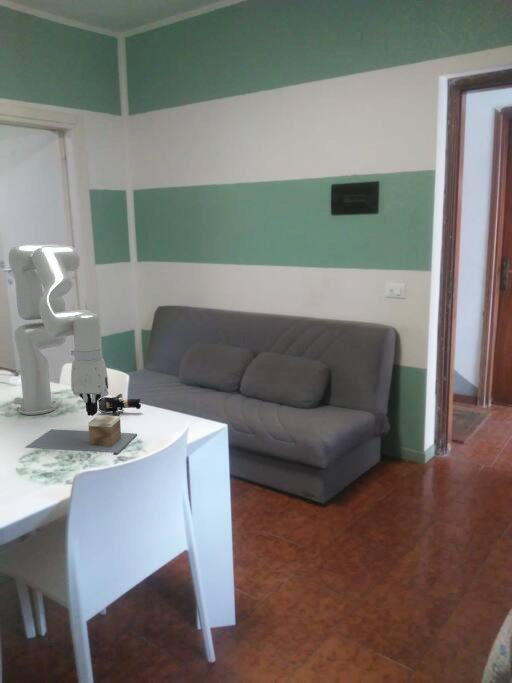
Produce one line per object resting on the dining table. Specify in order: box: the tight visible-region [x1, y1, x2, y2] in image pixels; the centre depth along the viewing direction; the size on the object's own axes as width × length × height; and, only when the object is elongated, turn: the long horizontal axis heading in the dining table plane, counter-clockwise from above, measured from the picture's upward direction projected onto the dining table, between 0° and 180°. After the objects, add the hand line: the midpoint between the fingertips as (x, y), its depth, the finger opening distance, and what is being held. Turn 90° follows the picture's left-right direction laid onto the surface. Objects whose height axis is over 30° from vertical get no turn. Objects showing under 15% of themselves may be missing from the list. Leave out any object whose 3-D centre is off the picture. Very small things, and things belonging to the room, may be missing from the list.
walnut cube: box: [88, 414, 122, 446], centre depth 174 cm, size 7×7×7 cm
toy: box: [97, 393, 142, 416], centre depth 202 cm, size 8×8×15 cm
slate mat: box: [24, 428, 138, 456], centre depth 176 cm, size 29×16×1 cm, turn 81°
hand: (92, 414), depth 173 cm, fingers closed
